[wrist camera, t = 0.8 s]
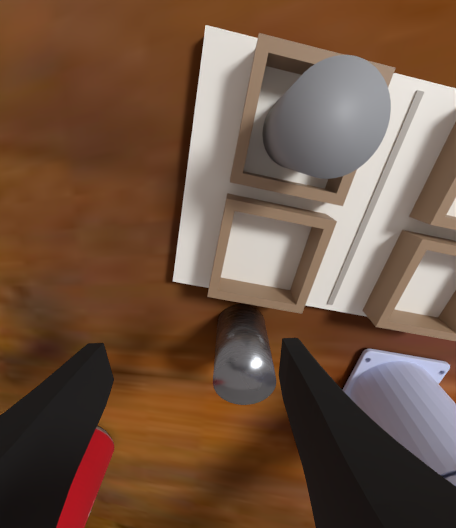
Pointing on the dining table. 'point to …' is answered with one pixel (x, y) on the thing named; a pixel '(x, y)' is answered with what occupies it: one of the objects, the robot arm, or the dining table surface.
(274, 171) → the white board with compartments
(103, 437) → the beverage can
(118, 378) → the dining table surface
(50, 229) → the dining table surface
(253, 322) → the steel pin
